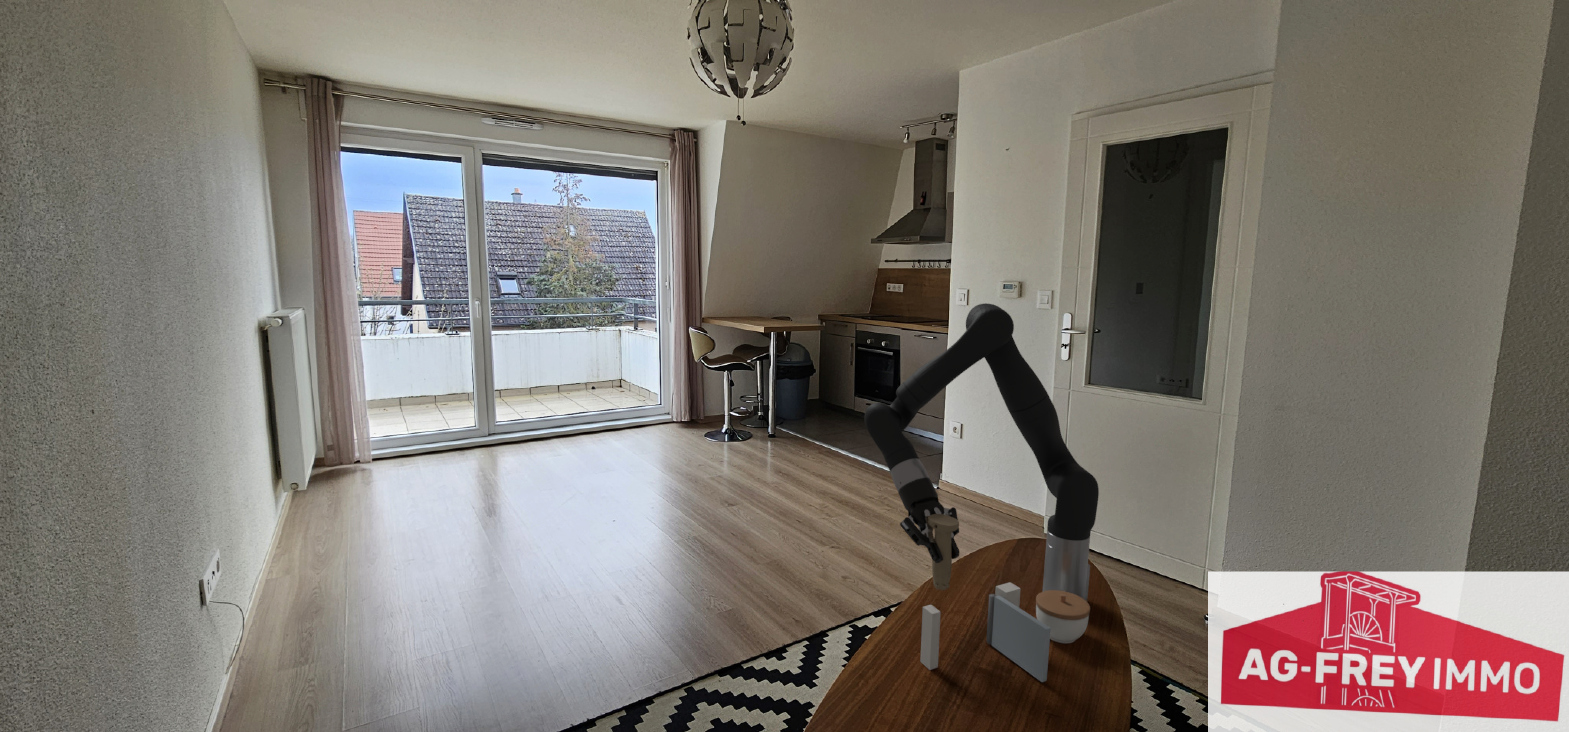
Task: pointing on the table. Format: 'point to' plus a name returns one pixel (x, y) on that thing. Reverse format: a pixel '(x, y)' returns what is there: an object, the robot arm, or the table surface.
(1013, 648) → the door
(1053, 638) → the lidded jar
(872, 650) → the table surface
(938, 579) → the tan tapered grip
